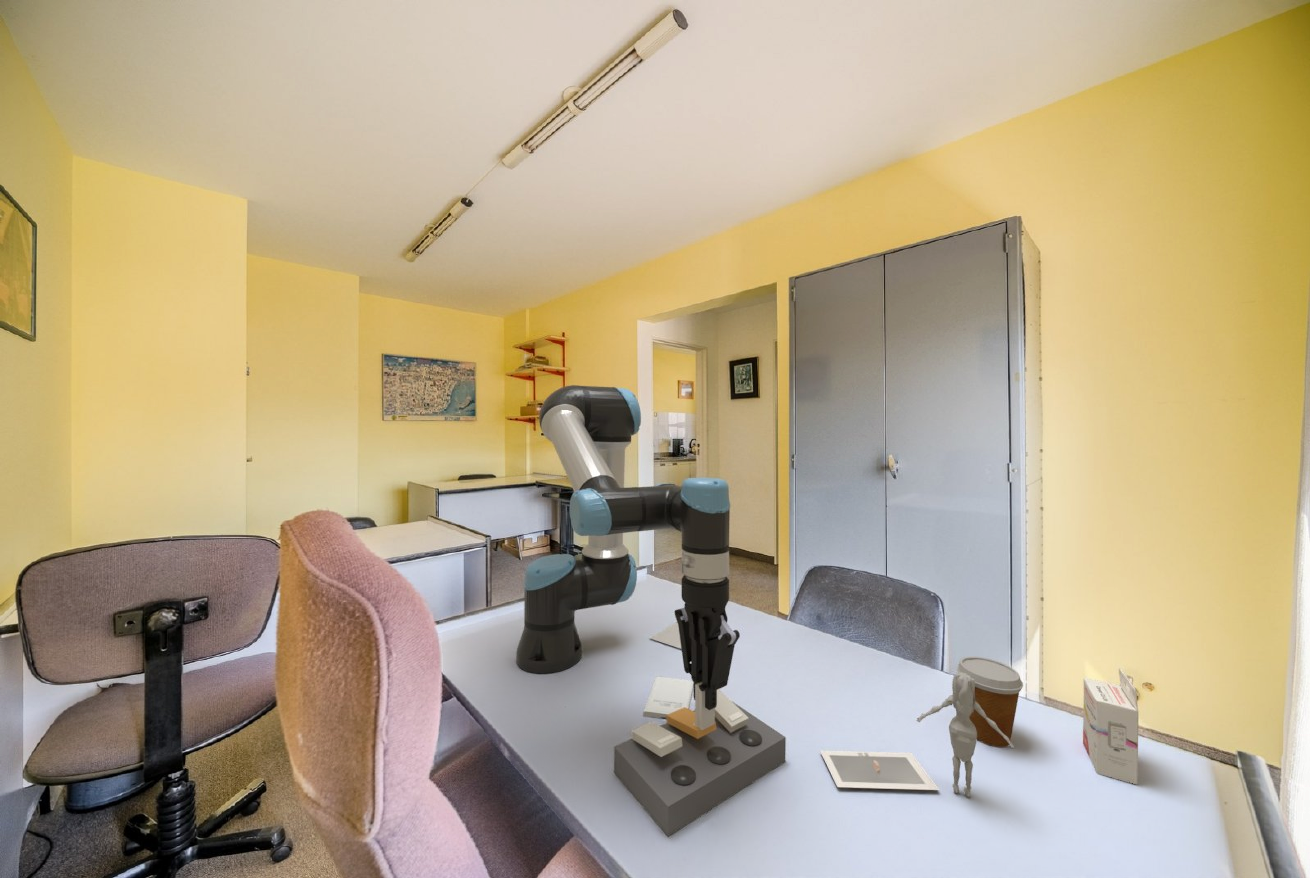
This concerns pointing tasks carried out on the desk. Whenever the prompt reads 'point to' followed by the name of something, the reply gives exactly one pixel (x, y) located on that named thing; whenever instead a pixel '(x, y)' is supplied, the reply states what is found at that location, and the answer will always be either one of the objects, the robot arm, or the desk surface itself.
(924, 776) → the white picture frame
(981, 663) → the disposable coffee cup
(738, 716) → the block
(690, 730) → the orange labeled box
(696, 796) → the rocker switch box
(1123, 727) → the ink cartridge box
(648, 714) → the external hard drive
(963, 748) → the human figurine
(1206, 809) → the desk surface
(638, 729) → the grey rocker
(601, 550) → the robot arm
